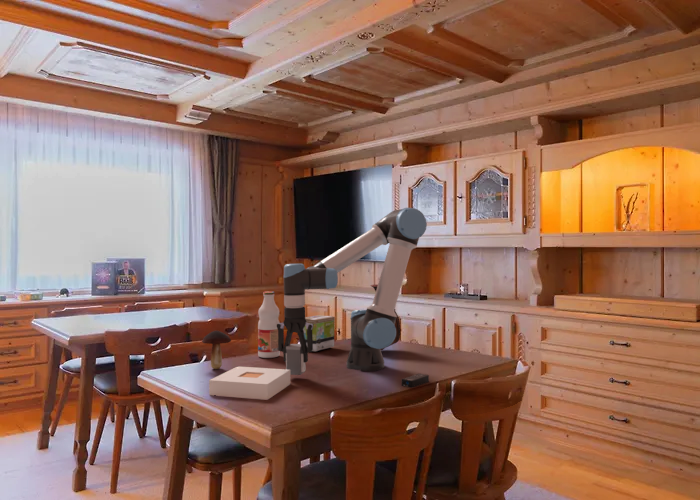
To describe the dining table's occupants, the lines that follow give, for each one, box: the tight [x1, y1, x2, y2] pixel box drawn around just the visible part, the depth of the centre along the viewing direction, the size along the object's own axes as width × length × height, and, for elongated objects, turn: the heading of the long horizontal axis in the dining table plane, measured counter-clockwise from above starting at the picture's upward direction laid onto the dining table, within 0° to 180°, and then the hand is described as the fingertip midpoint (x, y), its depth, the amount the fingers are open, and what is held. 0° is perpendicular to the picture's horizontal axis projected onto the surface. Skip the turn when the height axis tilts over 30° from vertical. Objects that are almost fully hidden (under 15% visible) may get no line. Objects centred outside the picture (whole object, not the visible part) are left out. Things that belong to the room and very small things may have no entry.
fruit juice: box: [257, 290, 281, 359], centre depth 232 cm, size 9×9×28 cm
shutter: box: [241, 373, 263, 378], centre depth 178 cm, size 6×6×1 cm
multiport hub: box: [401, 373, 430, 388], centre depth 187 cm, size 4×11×2 cm, turn 139°
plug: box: [286, 343, 305, 376], centre depth 192 cm, size 5×5×10 cm
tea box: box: [303, 314, 336, 352], centre depth 249 cm, size 15×10×15 cm, turn 148°
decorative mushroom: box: [201, 330, 232, 370], centre depth 207 cm, size 11×11×15 cm
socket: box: [208, 366, 291, 401], centre depth 178 cm, size 20×20×5 cm
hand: (295, 370), depth 192 cm, fingers closed on plug, 5 cm apart
